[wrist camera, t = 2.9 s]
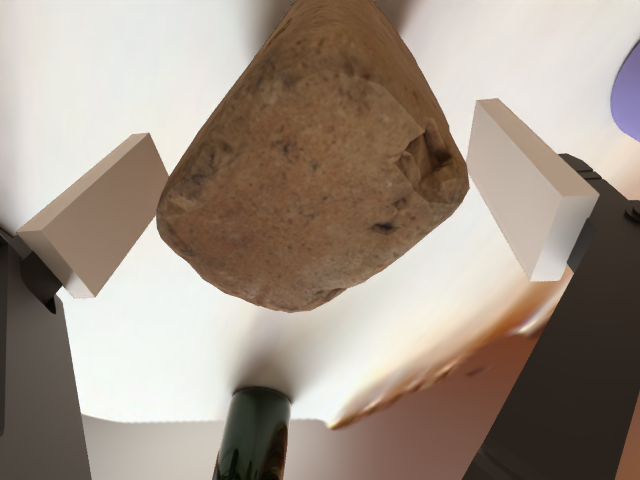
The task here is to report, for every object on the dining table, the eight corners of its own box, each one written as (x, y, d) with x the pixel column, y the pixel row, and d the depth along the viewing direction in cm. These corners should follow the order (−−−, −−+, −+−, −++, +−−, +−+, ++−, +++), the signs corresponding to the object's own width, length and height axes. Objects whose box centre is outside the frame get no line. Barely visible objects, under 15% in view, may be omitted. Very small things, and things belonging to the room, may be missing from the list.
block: (337, -50, 21) (331, -67, 5) (410, 51, 24) (537, 221, 8) (231, 82, 26) (70, 268, 10) (303, 150, 29) (261, 369, 14)
